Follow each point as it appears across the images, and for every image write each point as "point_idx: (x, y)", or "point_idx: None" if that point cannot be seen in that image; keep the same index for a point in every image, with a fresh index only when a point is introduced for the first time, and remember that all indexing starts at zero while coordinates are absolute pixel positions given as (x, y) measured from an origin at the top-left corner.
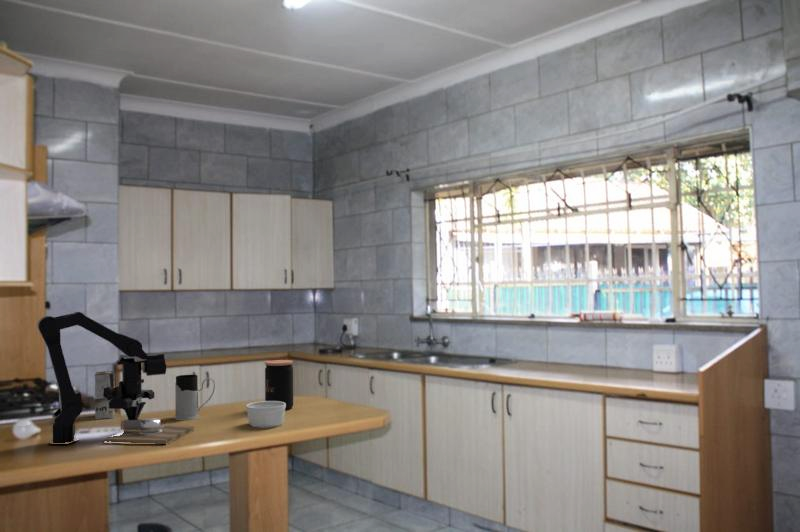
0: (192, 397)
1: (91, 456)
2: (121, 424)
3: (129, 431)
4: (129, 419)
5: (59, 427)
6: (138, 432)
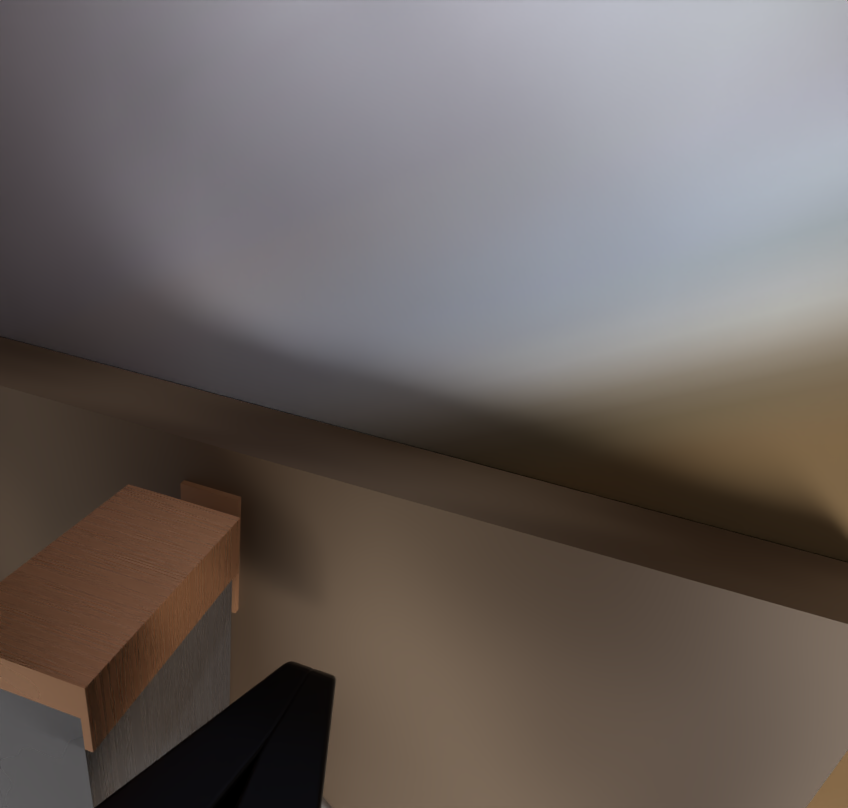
0: None
1: None
2: (42, 565)
3: None
4: (62, 803)
5: None
6: None
